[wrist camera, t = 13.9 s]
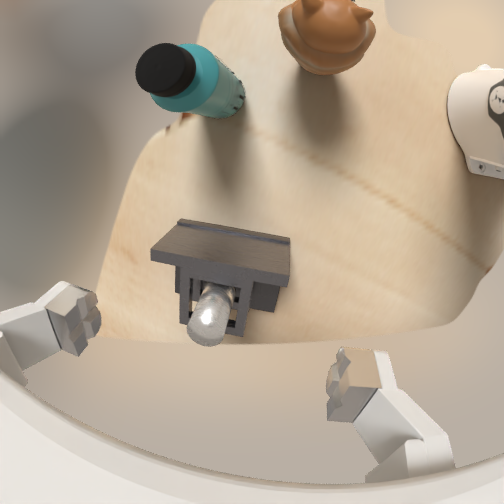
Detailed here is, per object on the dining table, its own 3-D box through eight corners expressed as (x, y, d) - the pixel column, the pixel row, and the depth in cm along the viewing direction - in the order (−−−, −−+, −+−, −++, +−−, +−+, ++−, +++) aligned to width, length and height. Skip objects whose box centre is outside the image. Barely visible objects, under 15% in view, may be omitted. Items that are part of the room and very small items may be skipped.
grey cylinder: (243, 259, 41) (225, 321, 28) (240, 284, 42) (222, 350, 30) (215, 255, 41) (186, 313, 28) (212, 279, 43) (186, 342, 30)
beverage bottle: (246, 120, 34) (203, 110, 16) (197, 119, 35) (115, 115, 17) (249, 74, 32) (210, 20, 13) (200, 74, 32) (122, 34, 14)
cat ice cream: (349, 41, 28) (392, -16, 11) (345, 93, 31) (394, 64, 15) (282, 31, 28) (278, -38, 12) (277, 83, 32) (270, 41, 15)
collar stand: (289, 238, 40) (290, 273, 31) (274, 307, 45) (269, 352, 36) (181, 218, 41) (150, 246, 31) (178, 287, 46) (153, 326, 36)
